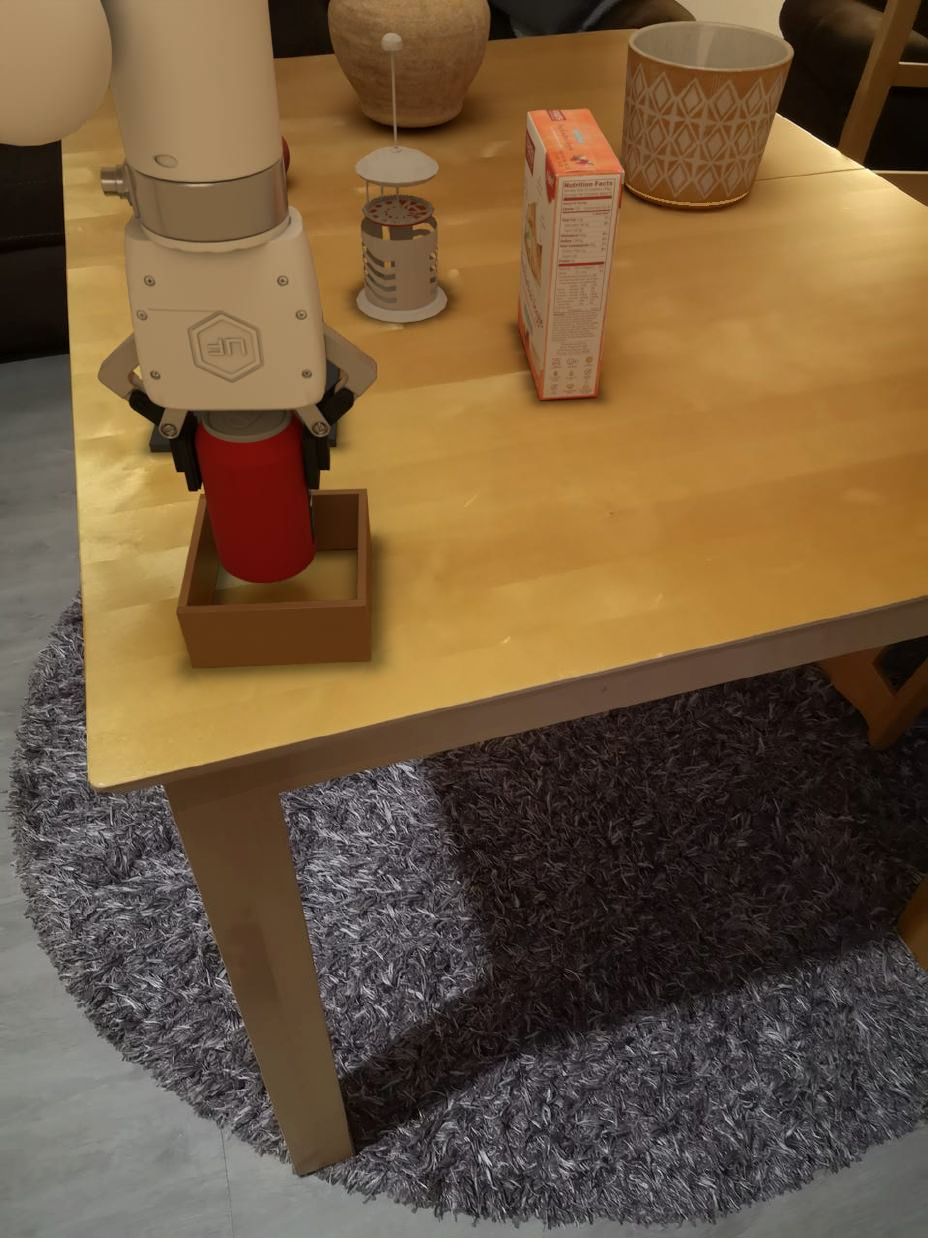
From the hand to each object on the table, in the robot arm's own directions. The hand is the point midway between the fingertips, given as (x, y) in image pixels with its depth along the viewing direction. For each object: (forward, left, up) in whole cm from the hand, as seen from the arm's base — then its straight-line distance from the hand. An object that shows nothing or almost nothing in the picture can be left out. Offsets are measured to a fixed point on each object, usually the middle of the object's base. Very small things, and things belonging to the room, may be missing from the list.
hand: (256, 475), depth 59 cm
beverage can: (0, 0, -7) cm, 7 cm away
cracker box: (+25, +32, -12) cm, 42 cm away
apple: (-7, +76, -12) cm, 77 cm away
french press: (+10, +46, -12) cm, 49 cm away
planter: (+48, +74, -12) cm, 89 cm away
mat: (-4, +27, -12) cm, 30 cm away
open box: (+1, 0, -12) cm, 12 cm away
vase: (+13, +100, -12) cm, 102 cm away
